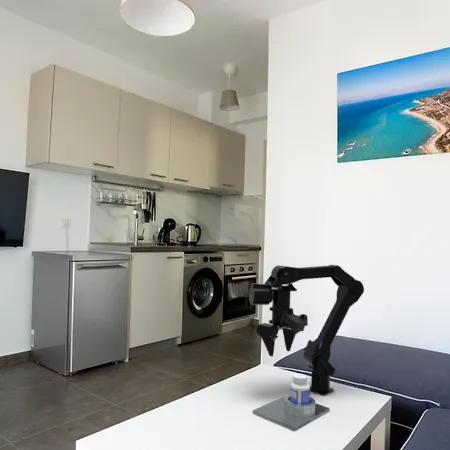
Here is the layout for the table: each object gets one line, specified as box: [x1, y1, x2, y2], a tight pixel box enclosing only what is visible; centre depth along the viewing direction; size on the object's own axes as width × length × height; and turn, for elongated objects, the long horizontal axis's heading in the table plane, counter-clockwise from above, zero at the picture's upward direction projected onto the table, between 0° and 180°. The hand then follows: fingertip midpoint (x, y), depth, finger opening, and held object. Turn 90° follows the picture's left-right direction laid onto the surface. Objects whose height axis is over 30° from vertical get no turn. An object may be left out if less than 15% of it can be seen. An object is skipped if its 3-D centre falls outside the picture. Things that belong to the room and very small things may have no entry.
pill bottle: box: [289, 373, 311, 405], centre depth 112 cm, size 5×5×10 cm
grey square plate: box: [252, 394, 331, 432], centre depth 112 cm, size 18×14×4 cm
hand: (279, 353), depth 127 cm, fingers open, 9 cm apart
